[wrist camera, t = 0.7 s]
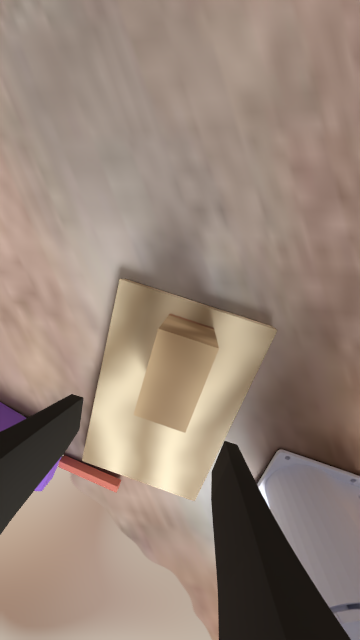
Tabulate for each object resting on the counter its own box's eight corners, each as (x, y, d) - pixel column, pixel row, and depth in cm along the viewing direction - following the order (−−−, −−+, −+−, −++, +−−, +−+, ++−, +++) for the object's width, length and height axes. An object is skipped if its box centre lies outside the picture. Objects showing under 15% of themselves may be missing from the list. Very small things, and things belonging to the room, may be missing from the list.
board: (271, 326, 16) (277, 330, 15) (194, 489, 22) (194, 501, 21) (125, 278, 17) (119, 279, 15) (88, 451, 22) (81, 461, 21)
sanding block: (213, 327, 16) (219, 348, 11) (189, 393, 17) (185, 433, 13) (169, 313, 16) (158, 328, 11) (150, 380, 18) (133, 415, 13)
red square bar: (121, 479, 22) (118, 487, 22) (119, 485, 23) (116, 492, 22) (56, 451, 23) (50, 457, 22) (55, 456, 23) (49, 463, 23)
